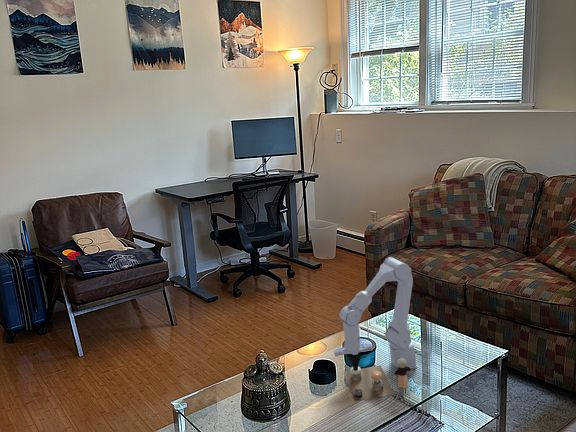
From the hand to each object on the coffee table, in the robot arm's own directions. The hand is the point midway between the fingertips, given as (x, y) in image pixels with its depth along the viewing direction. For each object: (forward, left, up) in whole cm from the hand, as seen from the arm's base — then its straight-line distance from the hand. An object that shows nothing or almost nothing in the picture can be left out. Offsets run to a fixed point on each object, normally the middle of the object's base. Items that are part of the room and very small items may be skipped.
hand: (355, 369), depth 209 cm
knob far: (0, 0, -3) cm, 3 cm away
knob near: (-6, +9, -1) cm, 11 cm away
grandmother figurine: (-16, +10, -5) cm, 19 cm away
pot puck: (+2, +11, -4) cm, 12 cm away
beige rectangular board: (-4, +4, -5) cm, 8 cm away
